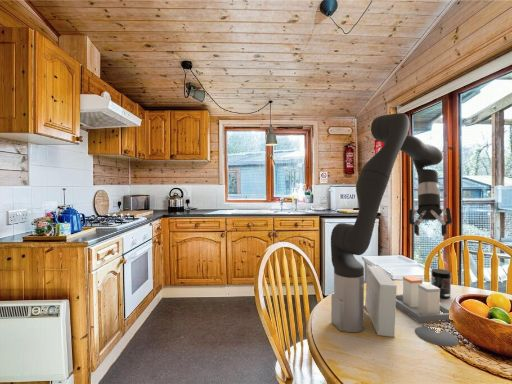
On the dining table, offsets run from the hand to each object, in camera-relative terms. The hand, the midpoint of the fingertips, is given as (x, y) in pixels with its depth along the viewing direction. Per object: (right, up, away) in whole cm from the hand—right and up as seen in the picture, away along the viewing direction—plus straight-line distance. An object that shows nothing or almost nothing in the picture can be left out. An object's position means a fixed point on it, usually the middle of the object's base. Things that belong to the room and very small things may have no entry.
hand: (430, 235), depth 107 cm
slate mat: (-13, -27, -23) cm, 38 cm away
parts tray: (-7, -26, -6) cm, 28 cm away
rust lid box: (-8, -26, -1) cm, 27 cm away
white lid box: (-7, -26, -10) cm, 29 cm away
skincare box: (-25, -27, -13) cm, 39 cm away
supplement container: (+8, -26, +7) cm, 28 cm away
